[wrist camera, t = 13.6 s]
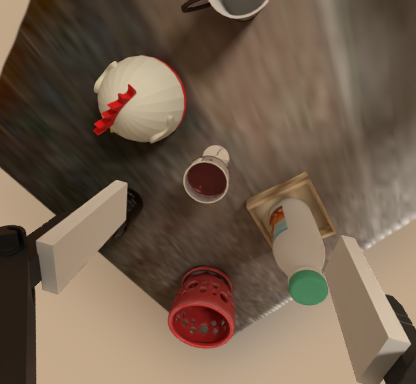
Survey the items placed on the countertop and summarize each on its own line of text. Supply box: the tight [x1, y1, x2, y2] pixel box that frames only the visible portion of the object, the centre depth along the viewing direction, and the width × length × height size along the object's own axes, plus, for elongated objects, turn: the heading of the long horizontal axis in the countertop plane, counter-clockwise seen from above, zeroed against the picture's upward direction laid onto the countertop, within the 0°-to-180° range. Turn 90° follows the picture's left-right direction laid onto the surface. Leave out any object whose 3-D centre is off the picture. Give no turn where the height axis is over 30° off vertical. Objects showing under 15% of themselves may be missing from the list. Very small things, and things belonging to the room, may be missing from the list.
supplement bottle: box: [105, 188, 143, 243], centre depth 51 cm, size 7×7×12 cm
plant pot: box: [168, 266, 235, 348], centre depth 57 cm, size 13×13×12 cm
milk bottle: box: [269, 198, 328, 305], centre depth 42 cm, size 8×8×20 cm
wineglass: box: [183, 145, 230, 203], centre depth 44 cm, size 7×7×12 cm
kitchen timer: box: [93, 56, 186, 143], centre depth 41 cm, size 14×14×15 cm
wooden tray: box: [246, 172, 337, 251], centre depth 50 cm, size 12×12×4 cm
